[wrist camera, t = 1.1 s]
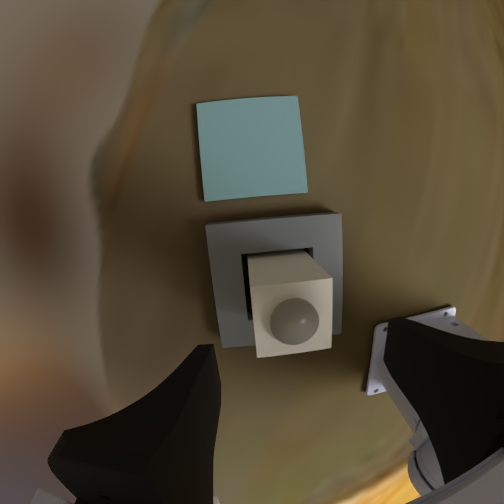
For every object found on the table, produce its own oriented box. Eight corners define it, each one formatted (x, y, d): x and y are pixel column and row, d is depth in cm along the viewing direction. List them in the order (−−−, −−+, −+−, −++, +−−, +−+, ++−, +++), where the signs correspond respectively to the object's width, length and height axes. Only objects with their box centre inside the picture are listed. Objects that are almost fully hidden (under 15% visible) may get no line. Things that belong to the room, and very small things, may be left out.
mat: (295, 98, 18) (297, 96, 17) (306, 192, 19) (307, 192, 19) (197, 105, 18) (196, 103, 17) (205, 201, 19) (204, 201, 19)
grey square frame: (334, 211, 19) (341, 213, 18) (335, 325, 21) (341, 333, 20) (208, 223, 19) (205, 225, 18) (223, 338, 21) (222, 348, 20)
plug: (302, 248, 20) (334, 280, 13) (304, 300, 21) (333, 351, 14) (247, 254, 20) (250, 289, 13) (252, 306, 21) (257, 362, 14)
